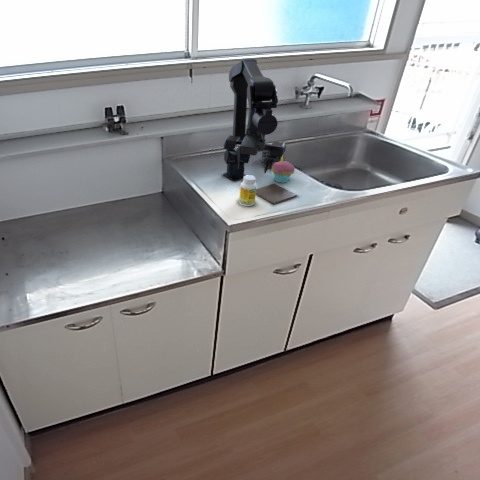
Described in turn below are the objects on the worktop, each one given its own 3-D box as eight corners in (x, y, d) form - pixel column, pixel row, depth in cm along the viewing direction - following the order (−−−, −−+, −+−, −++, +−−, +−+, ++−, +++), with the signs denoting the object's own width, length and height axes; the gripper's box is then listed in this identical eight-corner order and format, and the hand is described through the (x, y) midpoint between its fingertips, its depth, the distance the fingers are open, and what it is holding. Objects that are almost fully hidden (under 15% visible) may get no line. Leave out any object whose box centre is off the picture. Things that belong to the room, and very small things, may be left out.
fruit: (265, 135, 165) (268, 147, 153) (284, 142, 166) (288, 154, 153) (256, 153, 170) (258, 167, 158) (274, 160, 170) (277, 174, 158)
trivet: (251, 192, 142) (252, 190, 142) (274, 185, 147) (274, 183, 146) (273, 204, 134) (273, 203, 134) (296, 196, 139) (296, 195, 139)
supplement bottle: (244, 197, 139) (247, 172, 133) (257, 202, 136) (261, 177, 130) (235, 202, 136) (238, 177, 130) (248, 208, 132) (251, 182, 127)
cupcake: (281, 186, 146) (286, 155, 139) (264, 178, 152) (269, 148, 145) (297, 180, 149) (303, 150, 143) (280, 173, 155) (285, 144, 149)
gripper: (219, 127, 118) (216, 175, 127) (282, 135, 111) (274, 185, 120) (230, 117, 126) (226, 162, 135) (289, 124, 120) (281, 171, 128)
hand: (251, 170), depth 129 cm, fingers open, 9 cm apart
